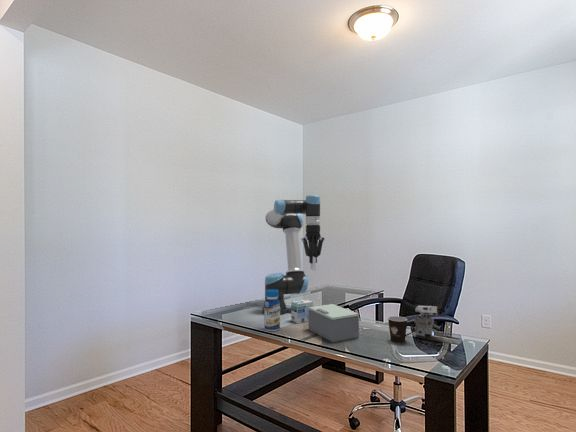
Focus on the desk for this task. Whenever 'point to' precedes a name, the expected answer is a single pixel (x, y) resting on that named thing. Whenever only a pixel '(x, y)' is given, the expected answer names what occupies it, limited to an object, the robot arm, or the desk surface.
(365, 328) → the desk surface
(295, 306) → the light bulb box
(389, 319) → the coffee mug
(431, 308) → the figurine
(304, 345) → the desk surface
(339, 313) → the box lid
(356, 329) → the grey open storage box
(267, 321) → the beverage bottle
